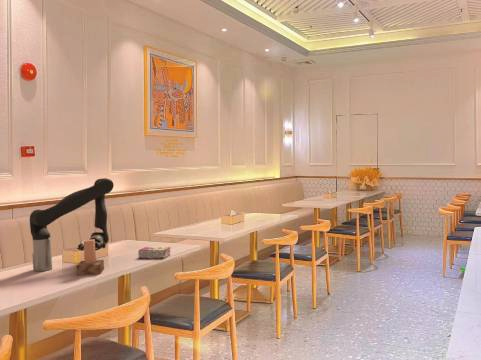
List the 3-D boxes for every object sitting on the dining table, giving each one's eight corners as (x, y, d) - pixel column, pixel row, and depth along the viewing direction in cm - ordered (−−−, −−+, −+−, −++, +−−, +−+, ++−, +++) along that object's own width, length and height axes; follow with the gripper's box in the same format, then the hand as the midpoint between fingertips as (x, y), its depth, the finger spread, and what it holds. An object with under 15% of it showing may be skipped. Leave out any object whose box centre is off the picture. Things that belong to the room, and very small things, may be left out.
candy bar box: (145, 246, 308) (170, 246, 305) (145, 254, 309) (170, 254, 306) (138, 249, 297) (164, 250, 294) (138, 258, 298) (164, 258, 295)
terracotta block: (84, 263, 264) (83, 241, 263) (86, 261, 269) (85, 239, 268) (94, 263, 265) (93, 240, 264) (96, 261, 270) (94, 239, 269)
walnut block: (77, 275, 260) (76, 265, 260) (81, 270, 272) (81, 261, 272) (100, 273, 262) (100, 264, 262) (104, 268, 274) (103, 259, 274)
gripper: (81, 237, 283) (75, 242, 267) (107, 235, 284) (103, 240, 268) (82, 250, 283) (76, 256, 267) (108, 248, 285) (104, 254, 269)
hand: (90, 248), depth 268 cm, fingers open, 8 cm apart
